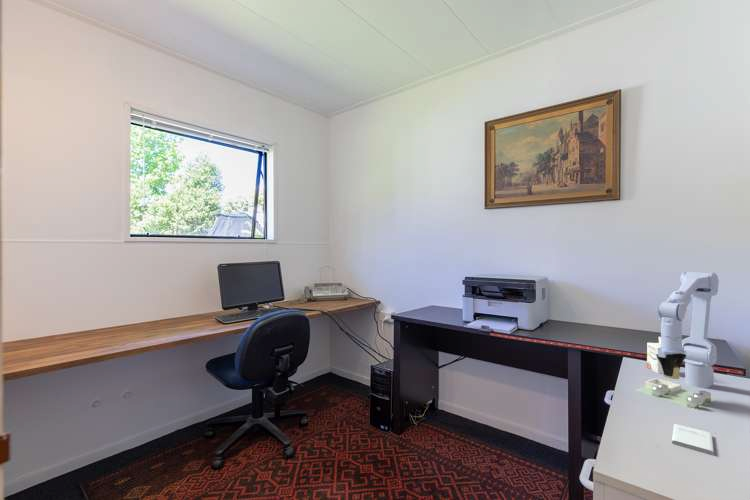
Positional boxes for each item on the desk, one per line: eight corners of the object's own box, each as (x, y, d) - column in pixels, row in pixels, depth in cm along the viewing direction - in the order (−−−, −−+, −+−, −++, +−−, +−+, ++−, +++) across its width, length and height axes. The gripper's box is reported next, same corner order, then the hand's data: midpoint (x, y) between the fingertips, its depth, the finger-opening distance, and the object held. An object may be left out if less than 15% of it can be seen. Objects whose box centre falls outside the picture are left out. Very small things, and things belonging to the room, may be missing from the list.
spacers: (666, 388, 132) (666, 380, 132) (712, 401, 120) (712, 393, 120) (650, 394, 126) (650, 386, 126) (696, 409, 115) (696, 400, 114)
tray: (655, 382, 138) (655, 377, 138) (681, 389, 131) (681, 384, 131) (645, 386, 134) (645, 381, 134) (670, 393, 127) (670, 388, 127)
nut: (666, 374, 128) (666, 363, 128) (681, 378, 124) (682, 366, 124) (660, 375, 126) (660, 364, 126) (676, 380, 122) (676, 368, 122)
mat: (657, 384, 138) (657, 382, 138) (718, 401, 122) (718, 399, 122) (633, 392, 130) (633, 390, 130) (695, 412, 114) (695, 409, 114)
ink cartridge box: (646, 368, 156) (646, 335, 156) (658, 369, 155) (659, 336, 155) (657, 375, 148) (657, 340, 148) (671, 376, 147) (671, 341, 147)
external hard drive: (671, 445, 96) (674, 428, 105) (713, 457, 90) (712, 438, 100) (671, 439, 96) (674, 422, 105) (713, 451, 90) (711, 432, 100)
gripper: (675, 341, 118) (675, 382, 118) (694, 336, 125) (694, 374, 125) (650, 336, 124) (650, 375, 124) (670, 332, 131) (670, 368, 131)
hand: (671, 374), depth 125 cm, fingers closed on nut, 4 cm apart
